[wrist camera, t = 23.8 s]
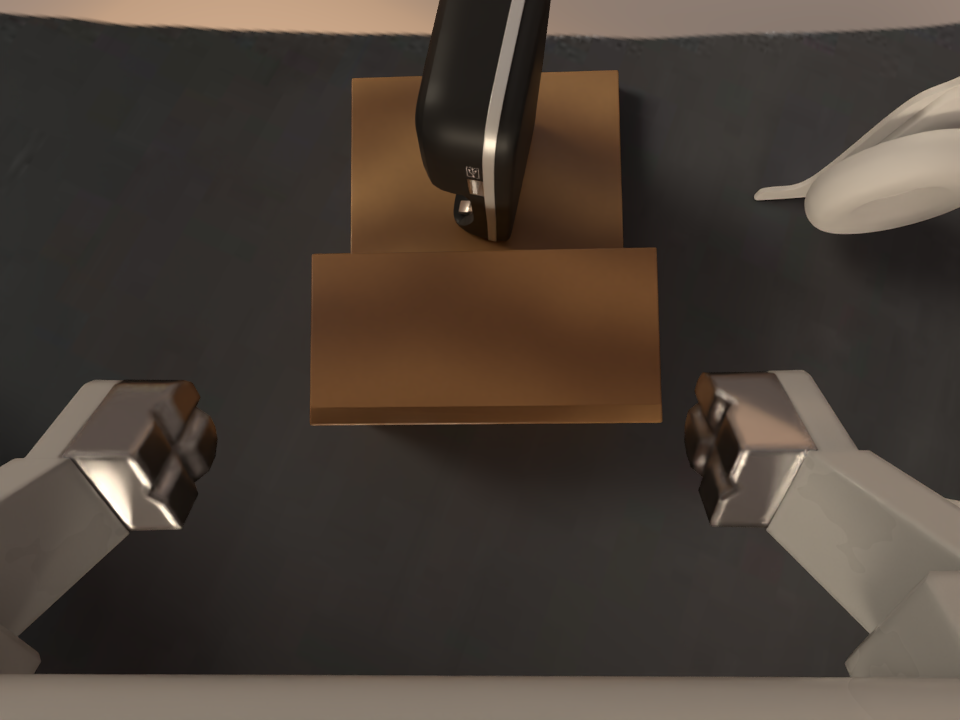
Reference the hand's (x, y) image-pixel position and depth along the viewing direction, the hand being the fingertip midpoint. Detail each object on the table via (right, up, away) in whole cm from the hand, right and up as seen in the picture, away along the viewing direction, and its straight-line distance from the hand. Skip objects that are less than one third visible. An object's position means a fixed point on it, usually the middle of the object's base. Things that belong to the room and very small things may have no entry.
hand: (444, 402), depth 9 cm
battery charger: (+1, +10, +20) cm, 23 cm away
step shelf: (+1, +7, +21) cm, 22 cm away
